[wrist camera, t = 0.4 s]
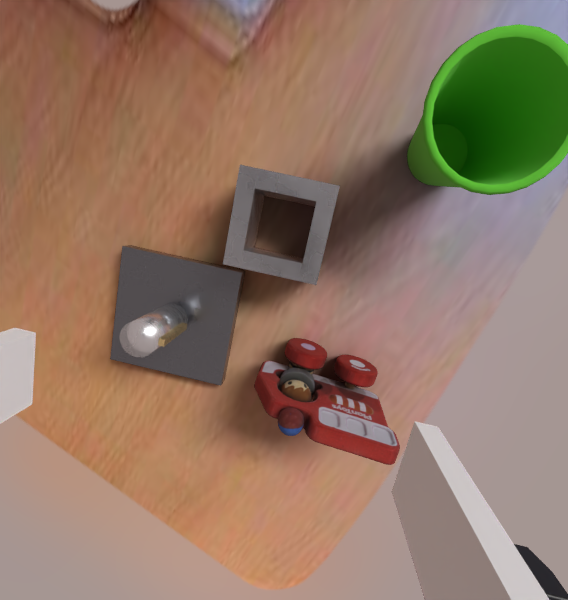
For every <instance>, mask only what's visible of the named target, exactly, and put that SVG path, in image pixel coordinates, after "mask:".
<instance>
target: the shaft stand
mask: <svg viewBox="0 0 568 600" xmlns="http://www.w3.org/2000/svg"><path fill="white" fill-rule="evenodd" d="M244 275H245V271H243V270H238V269H234V268H229V267H225V266H220V265H216V264H212V263H207V262H203V261H198V260H194V259H189V258H185V257H180V256H176V255H171V254H167V253H162V252H158V251H154V250H149V249H145V248H140V247H136V246H131V245H129V246H123V247H122V256H121V265H120V275H119V284H118V293H117V303H116V312H115V321H114V330H113V340H112V349H111V358H110V359H112V360H116V361H120V362H125V363H129V364H133V365H137V366H141V367H146V368H150V369H154V370H158V371H162V372H167V373H171V374H175V375H179V376H183V377H187V378H192V379H196V380H200V381H204V382H208V383H213V384H217V385H222V383H223V381H224V380H225V375H226V370H227V365H228V359H229V354H230V349H231V344H232V338H233V333H234V328H235V322H236V317H237V312H238V306H239V301H240V296H241V291H242V285H243V280H244Z"/></svg>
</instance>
